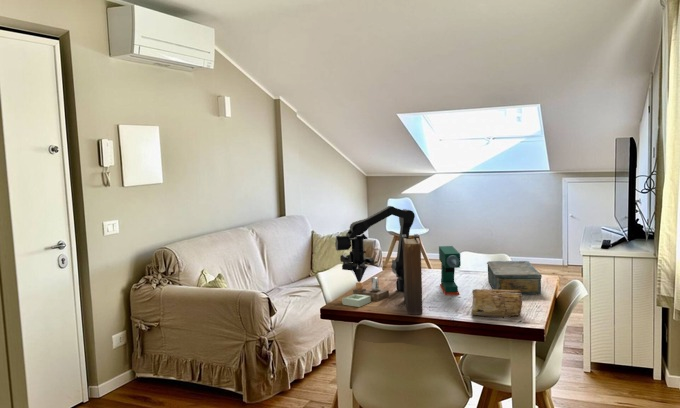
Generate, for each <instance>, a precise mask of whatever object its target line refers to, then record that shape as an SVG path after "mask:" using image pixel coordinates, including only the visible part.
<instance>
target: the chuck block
mask: <svg viewBox="0 0 680 408" xmlns="http://www.w3.org/2000/svg"><path fill="white" fill-rule="evenodd" d="M362 295H367V296H370V297H371V300H372V301H381V300H383V299H386V298H388V297H390V290H389V289H382V288H379V292H377V293H375V292H372V288H369V289H366V291H364V292H362Z"/></svg>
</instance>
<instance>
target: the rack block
mask: <svg viewBox="0 0 680 408" xmlns="http://www.w3.org/2000/svg"><path fill="white" fill-rule="evenodd" d="M341 302H342V305H344V306H351V307H356V308H357V307H358V308H360V307H362V306H365V305H367V304H369V303H371V297H370V296H367V295H360V294H353V293H352V294H350V295H347V296H344V297H342V301H341Z"/></svg>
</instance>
